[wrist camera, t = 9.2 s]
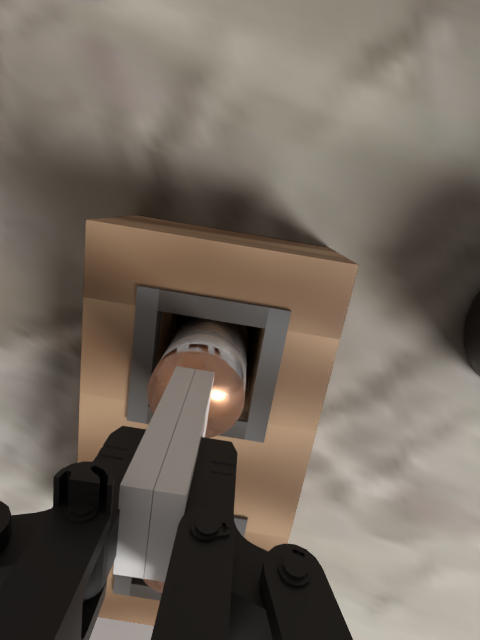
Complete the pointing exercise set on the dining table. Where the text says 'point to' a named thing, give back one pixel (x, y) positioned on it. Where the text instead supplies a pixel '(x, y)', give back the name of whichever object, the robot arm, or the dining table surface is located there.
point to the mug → (473, 334)
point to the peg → (208, 367)
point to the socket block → (221, 305)
